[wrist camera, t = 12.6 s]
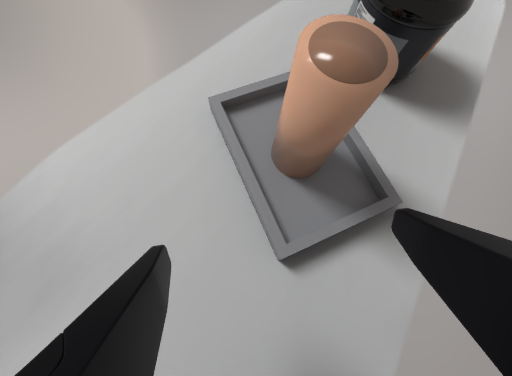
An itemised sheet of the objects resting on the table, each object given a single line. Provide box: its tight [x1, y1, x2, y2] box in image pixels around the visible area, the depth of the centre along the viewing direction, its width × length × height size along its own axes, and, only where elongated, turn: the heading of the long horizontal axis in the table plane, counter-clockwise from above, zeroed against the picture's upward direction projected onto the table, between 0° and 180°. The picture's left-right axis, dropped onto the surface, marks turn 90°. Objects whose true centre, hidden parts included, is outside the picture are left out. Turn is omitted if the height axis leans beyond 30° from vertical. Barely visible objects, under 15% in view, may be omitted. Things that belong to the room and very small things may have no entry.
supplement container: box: [348, 0, 474, 84], centre depth 24 cm, size 10×10×12 cm
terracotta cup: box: [271, 15, 398, 178], centre depth 18 cm, size 6×6×12 cm
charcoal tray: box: [208, 72, 402, 260], centre depth 24 cm, size 18×13×2 cm
